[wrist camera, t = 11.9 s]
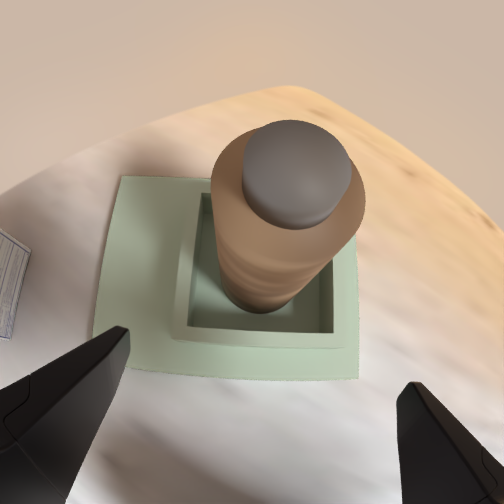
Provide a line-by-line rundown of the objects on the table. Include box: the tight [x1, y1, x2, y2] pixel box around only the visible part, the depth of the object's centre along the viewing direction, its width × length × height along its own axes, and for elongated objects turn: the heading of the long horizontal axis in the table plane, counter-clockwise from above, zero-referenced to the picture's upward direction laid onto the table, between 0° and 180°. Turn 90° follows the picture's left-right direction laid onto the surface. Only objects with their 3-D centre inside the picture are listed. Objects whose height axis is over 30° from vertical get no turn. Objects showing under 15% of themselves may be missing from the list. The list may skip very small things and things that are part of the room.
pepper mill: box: [210, 120, 366, 314], centre depth 15 cm, size 5×5×13 cm
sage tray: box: [92, 176, 359, 381], centre depth 20 cm, size 18×14×4 cm
